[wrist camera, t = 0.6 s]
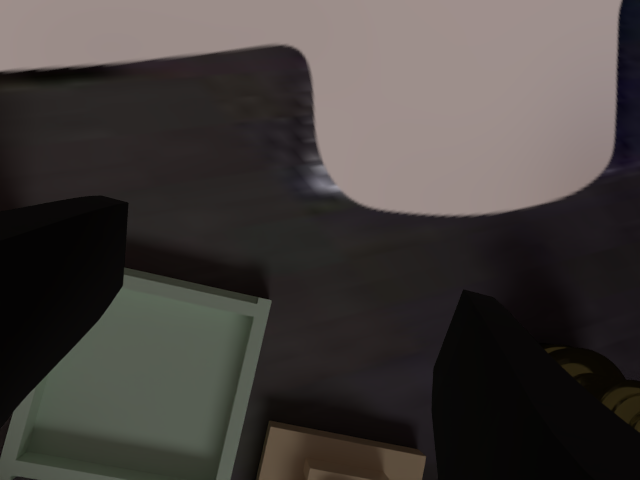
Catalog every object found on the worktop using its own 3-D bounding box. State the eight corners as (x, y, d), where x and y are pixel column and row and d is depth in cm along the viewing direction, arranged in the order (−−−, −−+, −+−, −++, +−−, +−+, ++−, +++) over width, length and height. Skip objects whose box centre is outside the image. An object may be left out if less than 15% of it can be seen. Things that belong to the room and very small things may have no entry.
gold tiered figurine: (604, 367, 38) (732, 394, 28) (568, 469, 37) (687, 533, 27) (514, 324, 38) (612, 336, 28) (474, 426, 37) (562, 477, 27)
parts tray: (222, 503, 34) (221, 518, 31) (10, 467, 32) (-6, 480, 30) (269, 299, 35) (271, 300, 33) (69, 255, 34) (58, 252, 31)
